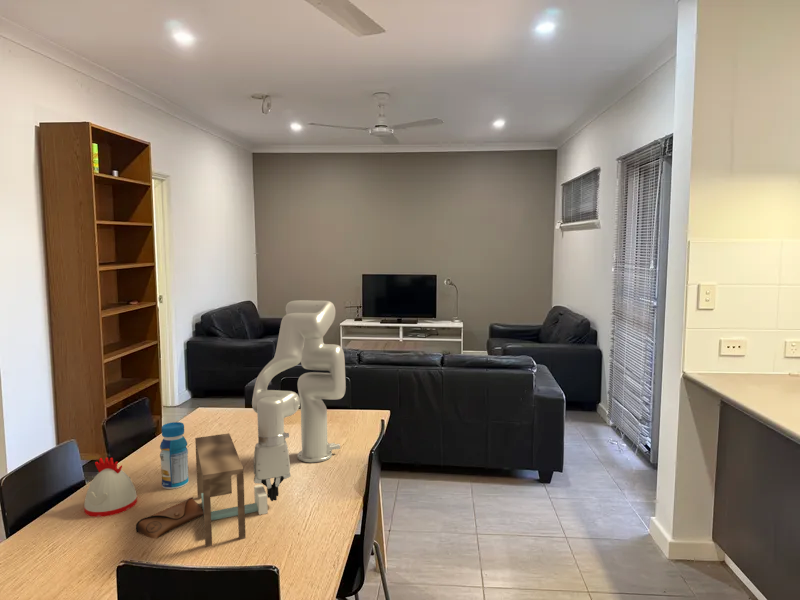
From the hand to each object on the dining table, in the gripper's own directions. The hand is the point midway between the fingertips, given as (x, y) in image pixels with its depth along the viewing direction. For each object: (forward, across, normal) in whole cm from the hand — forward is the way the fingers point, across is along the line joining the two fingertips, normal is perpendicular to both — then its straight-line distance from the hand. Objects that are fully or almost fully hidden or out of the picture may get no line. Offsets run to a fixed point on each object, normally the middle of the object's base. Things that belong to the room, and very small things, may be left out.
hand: (272, 498), depth 158 cm
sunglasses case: (+3, +27, -2) cm, 27 cm away
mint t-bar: (+2, +11, 0) cm, 11 cm away
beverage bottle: (+3, +26, -29) cm, 39 cm away
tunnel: (+2, +15, 0) cm, 15 cm away
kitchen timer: (+3, +44, -21) cm, 49 cm away
